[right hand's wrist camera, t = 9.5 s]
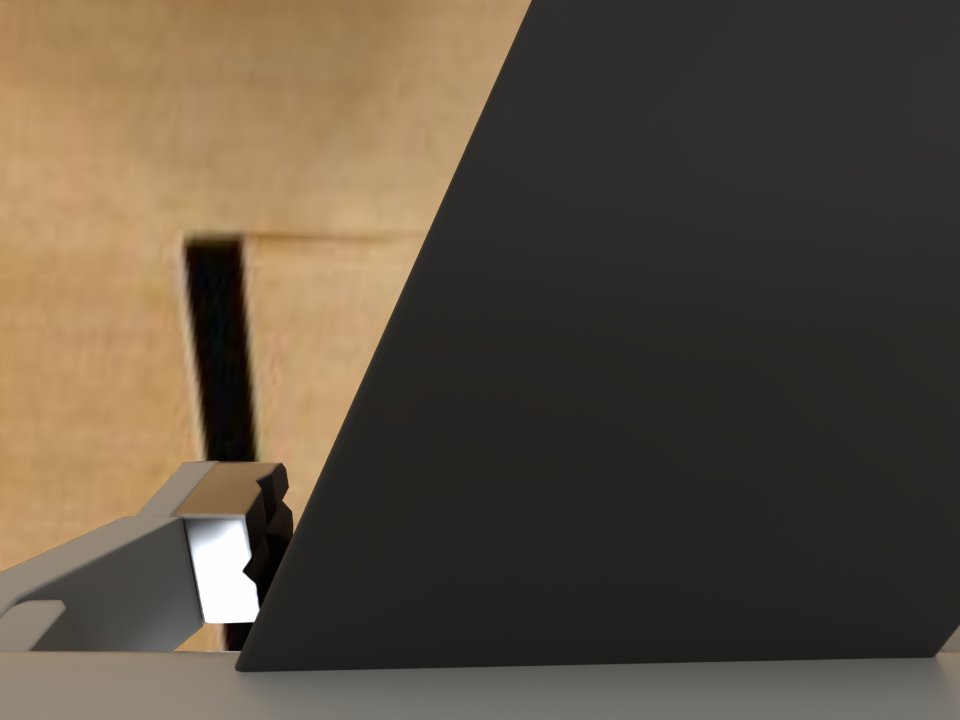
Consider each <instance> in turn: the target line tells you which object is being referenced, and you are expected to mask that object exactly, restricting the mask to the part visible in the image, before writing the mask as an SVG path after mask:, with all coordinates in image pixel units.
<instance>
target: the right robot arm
mask: <svg viewBox="0 0 960 720" xmlns="http://www.w3.org/2000/svg"><path fill="white" fill-rule="evenodd" d="M288 488H289V485H288V479H287V472H286V468H285V467H284V465H283V464H282V463H272V462H219V461H194V462H185V463H183V464H182V465H181V466H180V467H179V468H178V469H177V471H176V472H175V473H174V474H173V475H172V476H171V477H170V478H169V479H168V481H167V482H166V483H165V484H164V485H163V486H162V487H161V488H160V489H159V491H158V492H157V493H156V494H155V495H154V496H153V497H152V498H151V499H150V500H149V502H148V503H147V504H146V505H145V506H144V507H143V508H142V509H141V510H140V512H139V513H138V514H137V515H136V516H135V517H123V518H120V519H118V520H116V521H114V522H111V523H109V524H107V525H105V526H103V527H100V528H98V529H96V530H94V531H91V532H89V533H87V534H85V535H83V536H80V537H78V538H76V539H74V540H71V541H69V542H67V543H65V544H63V545H60V546H58V547H56V548H54V549H51V550H49V551H47V552H45V553H43V554H40V555H38V556H36V557H34V558H31V559H29V560H27V561H25V562H23V563H20V564H18V565H16V566H14V567H11V568H9V569H7V570H5V571H3V572H0V720H960V626H959V627H958V628H957V630H956V631H955V632H954V633H953V635H952V636H951V637H950V638H949V640H948V641H947V642H946V643H945V645H944V646H943V647H942V648H941V650H940V651H939V652H938V653H937V655H936V656H935V657H931V658H879V659H834V660H788V661H742V662H696V663H650V664H605V665H559V666H513V667H467V668H422V669H376V670H330V671H283V672H239V671H236V670H235V664H236V662H237V660H238V658H239V655H240V653H241V651H173V650H175V649H176V648H177V647H178V646H180V645H181V644H182V643H183V642H184V641H186V640H187V639H188V638H189V637H190V636H192V635H193V634H194V633H195V632H197V631H198V630H199V629H200V628H201V627H203V624H202V623H235V622H255V619H256V617H257V615H258V613H259V610H260V608H261V606H262V604H263V602H264V599H265V597H266V595H267V593H268V590H269V588H270V586H271V584H272V581H273V579H274V577H275V575H276V572H277V570H278V568H279V566H280V563H281V561H282V559H283V557H284V554H285V552H286V550H287V548H288V546H289V543H290V541H291V539H292V537H293V518H292V511H291V510H290V509H289V508H288V507H287V506H286V504H285V503H284V502H283V501H282V500H283V498H284V496H285V494H286V492H287V490H288Z"/></svg>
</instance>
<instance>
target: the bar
mask: <svg viewBox="0 0 960 720" xmlns="http://www.w3.org/2000/svg"><path fill="white" fill-rule="evenodd" d="M959 626H960V0H532V1H531V3H530V6H529V8H528V10H527V12H526V15H525V17H524V19H523V21H522V23H521V26H520V28H519V30H518V32H517V35H516V37H515V39H514V41H513V44H512V46H511V48H510V50H509V53H508V55H507V57H506V59H505V62H504V64H503V66H502V68H501V71H500V73H499V75H498V77H497V79H496V82H495V84H494V86H493V88H492V91H491V93H490V95H489V97H488V100H487V102H486V104H485V106H484V109H483V111H482V113H481V115H480V118H479V120H478V122H477V124H476V127H475V129H474V131H473V133H472V136H471V138H470V140H469V142H468V144H467V147H466V149H465V151H464V153H463V156H462V158H461V160H460V162H459V165H458V167H457V169H456V171H455V174H454V176H453V178H452V180H451V183H450V185H449V187H448V189H447V192H446V194H445V196H444V198H443V200H442V203H441V205H440V207H439V209H438V212H437V214H436V216H435V218H434V221H433V223H432V225H431V227H430V230H429V232H428V234H427V236H426V239H425V241H424V243H423V245H422V248H421V250H420V252H419V254H418V256H417V259H416V261H415V263H414V265H413V268H412V270H411V272H410V274H409V277H408V279H407V281H406V283H405V286H404V288H403V290H402V292H401V295H400V297H399V299H398V301H397V304H396V306H395V308H394V310H393V313H392V315H391V317H390V319H389V321H388V324H387V326H386V328H385V330H384V333H383V335H382V337H381V339H380V342H379V344H378V346H377V348H376V351H375V353H374V355H373V357H372V360H371V362H370V364H369V366H368V369H367V371H366V373H365V375H364V377H363V380H362V382H361V384H360V386H359V389H358V391H357V393H356V395H355V398H354V400H353V402H352V404H351V407H350V409H349V411H348V413H347V416H346V418H345V420H344V422H343V425H342V427H341V429H340V431H339V433H338V436H337V438H336V440H335V442H334V445H333V447H332V449H331V451H330V454H329V456H328V458H327V460H326V463H325V465H324V467H323V469H322V472H321V474H320V476H319V478H318V481H317V483H316V485H315V487H314V490H313V492H312V494H311V496H310V498H309V501H308V503H307V505H306V507H305V510H304V512H303V514H302V516H301V519H300V521H299V523H298V525H297V528H296V530H295V532H294V534H293V537H292V539H291V541H290V543H289V546H288V548H287V550H286V552H285V554H284V557H283V559H282V561H281V563H280V566H279V568H278V570H277V572H276V575H275V577H274V579H273V581H272V584H271V586H270V588H269V590H268V593H267V595H266V597H265V599H264V602H263V604H262V606H261V608H260V610H259V613H258V615H257V617H256V619H255V622H254V624H253V626H252V628H251V631H250V633H249V635H248V637H247V640H246V642H245V644H244V646H243V649H242V651H241V653H240V655H239V658H238V660H237V662H236V664H235V670H236V671H239V672H283V671H330V670H376V669H422V668H467V667H513V666H559V665H605V664H650V663H696V662H742V661H788V660H834V659H879V658H931V657H935V656H936V655H937V653H938V652H939V651H940V650H941V648H942V647H943V646H944V645H945V643H946V642H947V641H948V640H949V638H950V637H951V636H952V635H953V633H954V632H955V631H956V630H957V628H958V627H959Z"/></svg>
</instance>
